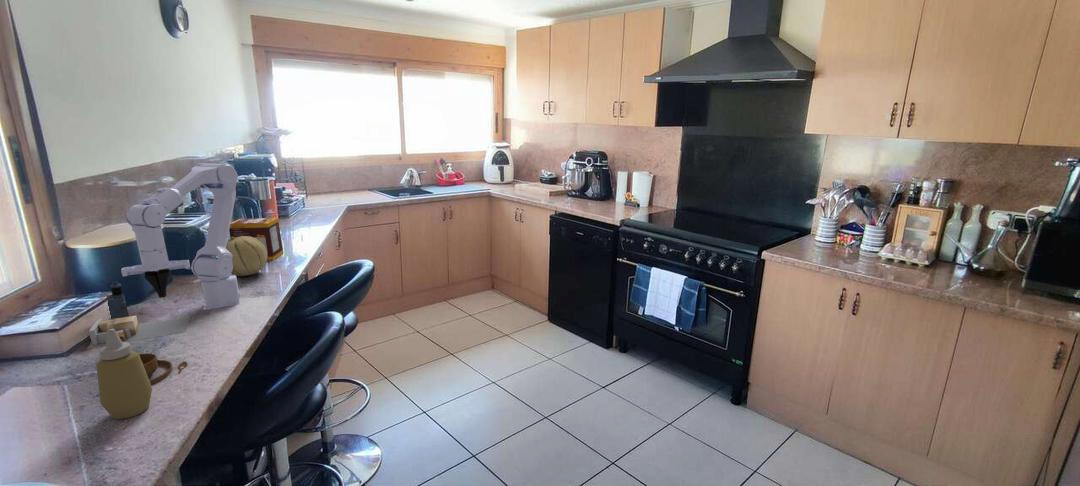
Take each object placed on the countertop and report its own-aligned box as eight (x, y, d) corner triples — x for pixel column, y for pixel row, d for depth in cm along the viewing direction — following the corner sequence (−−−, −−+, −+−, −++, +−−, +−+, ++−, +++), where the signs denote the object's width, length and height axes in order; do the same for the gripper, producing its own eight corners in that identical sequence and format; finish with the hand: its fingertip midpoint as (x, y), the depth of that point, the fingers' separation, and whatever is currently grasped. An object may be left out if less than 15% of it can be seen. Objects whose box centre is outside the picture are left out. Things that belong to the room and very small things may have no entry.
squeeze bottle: (124, 400, 103) (104, 321, 98) (165, 398, 103) (147, 320, 99) (94, 424, 95) (70, 340, 90) (138, 422, 96) (117, 338, 91)
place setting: (79, 402, 103) (73, 377, 102) (115, 359, 121) (109, 337, 119) (179, 384, 110) (174, 360, 108) (199, 346, 128) (194, 325, 126)
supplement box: (245, 254, 206) (239, 218, 202) (283, 253, 208) (278, 217, 203) (233, 261, 196) (226, 223, 192) (273, 260, 198) (268, 223, 193)
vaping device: (123, 323, 140) (113, 283, 136) (108, 321, 141) (98, 282, 137) (132, 319, 142) (123, 280, 139) (117, 318, 143) (108, 279, 140)
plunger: (128, 335, 131) (126, 327, 130) (124, 341, 127) (123, 333, 127) (115, 337, 129) (113, 329, 129) (112, 343, 126) (110, 335, 125)
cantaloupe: (277, 272, 183) (272, 234, 179) (236, 284, 171) (229, 243, 167) (256, 266, 190) (250, 228, 186) (215, 276, 178) (208, 237, 174)
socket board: (190, 317, 143) (187, 303, 142) (185, 333, 133) (182, 318, 132) (100, 332, 134) (96, 317, 132) (87, 351, 124) (82, 334, 122)
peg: (139, 328, 135) (136, 315, 134) (136, 334, 131) (133, 320, 130) (104, 334, 131) (100, 320, 130) (100, 340, 128) (96, 326, 127)
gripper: (114, 256, 124) (126, 306, 128) (183, 248, 131) (193, 296, 134) (120, 249, 130) (131, 297, 133) (186, 242, 137) (195, 288, 140)
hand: (163, 296), depth 134 cm, fingers closed
